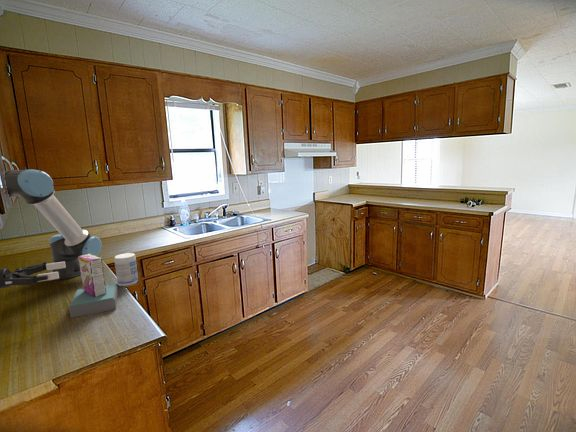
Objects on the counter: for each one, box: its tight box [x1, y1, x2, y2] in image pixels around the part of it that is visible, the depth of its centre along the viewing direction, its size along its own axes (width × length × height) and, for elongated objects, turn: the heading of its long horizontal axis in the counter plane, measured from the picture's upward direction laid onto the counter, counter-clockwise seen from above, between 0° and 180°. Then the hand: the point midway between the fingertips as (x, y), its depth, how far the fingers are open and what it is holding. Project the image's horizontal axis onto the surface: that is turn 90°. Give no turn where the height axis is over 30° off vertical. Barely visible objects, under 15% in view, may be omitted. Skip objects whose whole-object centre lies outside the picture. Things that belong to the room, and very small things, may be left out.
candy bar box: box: [78, 254, 106, 297], centre depth 133 cm, size 11×5×16 cm, turn 56°
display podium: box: [68, 283, 119, 319], centre depth 134 cm, size 18×16×5 cm
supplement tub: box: [114, 252, 139, 287], centre depth 156 cm, size 10×10×15 cm
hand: (62, 269), depth 128 cm, fingers open, 13 cm apart
